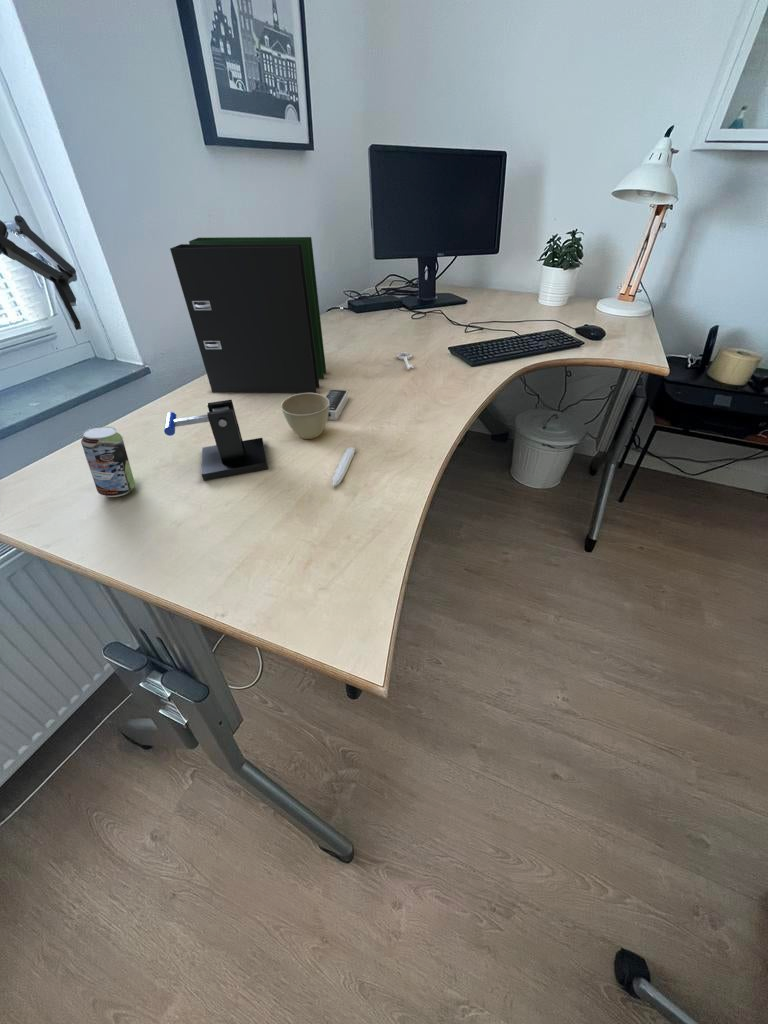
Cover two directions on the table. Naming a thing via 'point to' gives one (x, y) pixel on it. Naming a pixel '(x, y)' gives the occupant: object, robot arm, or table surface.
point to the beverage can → (108, 461)
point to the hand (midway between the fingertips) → (28, 335)
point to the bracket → (230, 446)
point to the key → (405, 359)
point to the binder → (254, 312)
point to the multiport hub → (336, 403)
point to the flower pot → (306, 414)
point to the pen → (343, 465)
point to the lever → (185, 420)
